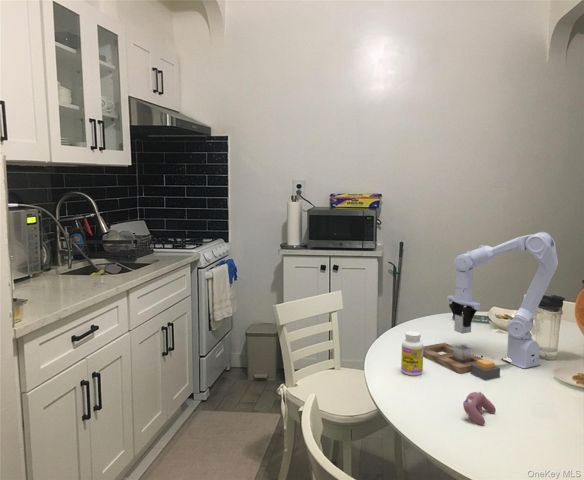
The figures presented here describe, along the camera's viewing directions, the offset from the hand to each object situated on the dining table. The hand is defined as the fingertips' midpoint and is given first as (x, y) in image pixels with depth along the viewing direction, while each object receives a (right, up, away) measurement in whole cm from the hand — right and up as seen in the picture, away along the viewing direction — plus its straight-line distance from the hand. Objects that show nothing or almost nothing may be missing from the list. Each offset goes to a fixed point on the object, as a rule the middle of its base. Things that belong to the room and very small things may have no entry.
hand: (462, 324), depth 181 cm
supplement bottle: (-23, -12, -19) cm, 32 cm away
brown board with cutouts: (-7, -11, -8) cm, 15 cm away
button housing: (0, -12, -22) cm, 25 cm away
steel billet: (0, -2, 0) cm, 2 cm away
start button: (0, -11, -22) cm, 25 cm away
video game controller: (-12, -16, -49) cm, 53 cm away
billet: (-5, -11, -13) cm, 18 cm away
